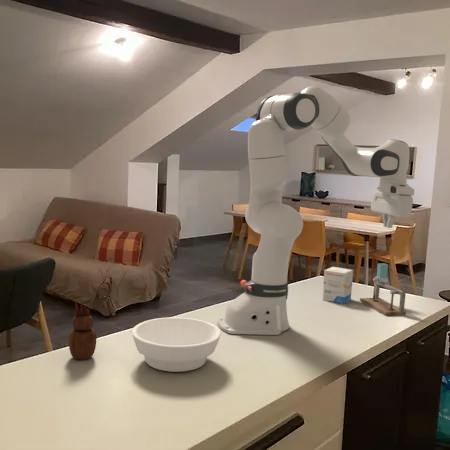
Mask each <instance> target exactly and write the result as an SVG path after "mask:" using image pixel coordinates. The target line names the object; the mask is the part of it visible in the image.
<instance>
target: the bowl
mask: <svg viewBox="0 0 450 450" xmlns="http://www.w3.org/2000/svg"><path fill="white" fill-rule="evenodd" d="M131 330H132V331H131V333H132V339H133V341H134V345H135V347H136V350H137V351H138V352H139V353H140V354H141V355H143V357H144V360H145V362H146V364H147V365H148V366H150V367H152V368H154V369H156V370H159V371H164V372H165V371H166V372H173V373H174V372H176V373H177V372H188V371H192V370H196V369H199V368H201V367H202V366H204V364H206V361H207V359H208V357H209V356H211V355H213V353H214V352H215V351H216V347H217V345H218V344H219V340H220V338H221V335H222V331H221V328H220V327H219V326H216V324H213V323H211V322H208V321H205V320H201V319H197V318H191V317H177V316H175V317H174V316H173V317H172V316H171V317H160V318H158V317H157V318H153V319H148V320H144V321H143V322H140V323H138V324H136V325H135V326H133V328H132V329H131Z"/></svg>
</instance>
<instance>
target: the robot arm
mask: <svg viewBox="0 0 450 450" xmlns="http://www.w3.org/2000/svg"><path fill="white" fill-rule="evenodd" d="M350 123H351V118H350V114H349V112H348V111H347V110H346V108H345V107H344V106H343V105H342V104H341V103H340V102H339V101H338V100H337V99H336V98H335V97H334V96H332V95H331V94H329V92H327V91H325V90H324V89H323V88H321V87H319V86H317V85H309V86H307V87H305V88H304V89H302V90H301V91H300V92H294V93H290V92H289V93H287V92H285V93H279V94H276V95H271V96H268V97H266V98H265V99H263V100H262V101H260V104H259V105H258V107H257V112H256V118H255V121H253V123H252V124H250V126H249V128H248V133H247V156H248V167H249V177H250V179H249V180H250V189H249V191H250V192H249V199H248V200H249V201H248V206H247V207H246V210H245V213H244V217H245V222H246V223H247V225H248V227H249V228H250V229H251V230H252V231H253V232H255V233H257V234H259V235H260V240H259V243H258V247H257V249H256V251H255V252H254V253H253V255H252V262H251V263H252V264H251V279H250V280H249V281H247V280H246V279H242V280H241V281H240V286H242V287H243V288H244V292H243V293H241V294H240V295H238V296H237V297H236V298H234V299H233V300H231V301H230V302H229V303H228V304H227V305H226V309H225V313H224V316H220V317H219V318H217V323H216V324H217V327H218V328H219V329H220V330H222V331H223V332H225V333H228V334H230V335H263V336H264V335H265V336H266V335H267V336H278V335H280V334H281V333H282V332H284V331H287V330H288V329H290V324H289V323H290V322H289V318H288V309H287V300H288V295H289V282H288V270H289V260H290V255H291V252H292V248H293V246H294V243H295V241H296V240H297V238H298V237H299V236H300V235H301V233H302V231H303V229H304V228H303V227H304V220H303V217H302V215H301V213H300V212H298V210H296V209H295V207H293V206H291V205H290V204H289V205H288V204H284V203H283V193H284V187H285V186H286V184H287V182H288V171H287V163H286V162H287V161H286V159H287V158H286V151H285V150H286V149H285V136H286V133H287V132H291V131H301V130H304V129H306V128H308V127H311V128H313V130H315V132H317V133H318V134H319V135H320V137H321V139H322V140H323V142H324V143H325V145H327V146H328V147H329V148H330V149H331V150H332V152H333V153H334V154H335V155H336V156H337V158H339V160H340V161H341V163H342V166H343V167H344V169H345V171H346V172H347V173H348V174H349V175H350V176H353V177H362V176H363V177H371V178H372V177H373V178H379V185H378V186H377V188H376V189H375V190H374V192H373V194H372V198H371V204H370V210H371V211H372V212H375V213H380V214H382V216H381V217H382V220H383V225H382V226H383V227H385V228H388V229H392V228H393V226H394V222H395V220H396V219H397V218H407V219H409V218H410V216H411V215H412V211H413V210H412V209H413V203H414V201H413V200H414V199H413V196H414V194H415V189H414V188H413V187H412V186H410V185H409V184H408V183H407V181H408V179H407V177H408V176H407V172H408V170H409V166H410V146H409V144H408V143H407V142H405V141H403V140H398V139H387V140H386V142H385V143H383V144H381V145H380V146H376V147H361V146H356V145H354V144H352V142H351V141H350V139H348V138H347V136H346V135H345V134H346V133H347V131H348V129H349V127H350ZM396 217H397V218H396Z"/></svg>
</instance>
